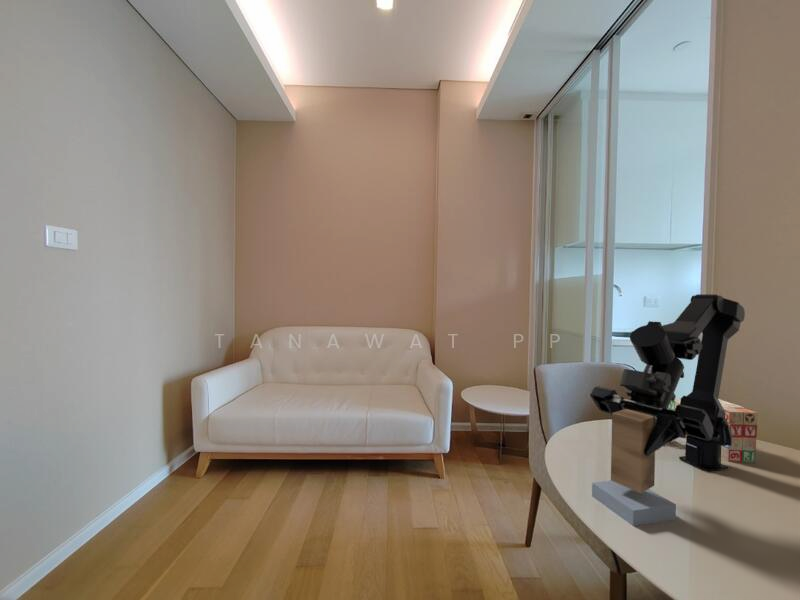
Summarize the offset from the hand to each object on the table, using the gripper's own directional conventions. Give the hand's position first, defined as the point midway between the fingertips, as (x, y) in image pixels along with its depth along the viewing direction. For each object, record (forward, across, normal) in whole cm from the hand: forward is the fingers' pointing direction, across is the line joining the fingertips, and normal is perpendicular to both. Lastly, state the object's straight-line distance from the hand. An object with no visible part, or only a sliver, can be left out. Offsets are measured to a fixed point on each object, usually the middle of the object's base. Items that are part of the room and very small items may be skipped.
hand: (629, 448), depth 63 cm
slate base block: (+7, 0, +9) cm, 12 cm away
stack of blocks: (-27, -4, +44) cm, 52 cm away
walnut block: (+4, 0, +6) cm, 7 cm away
